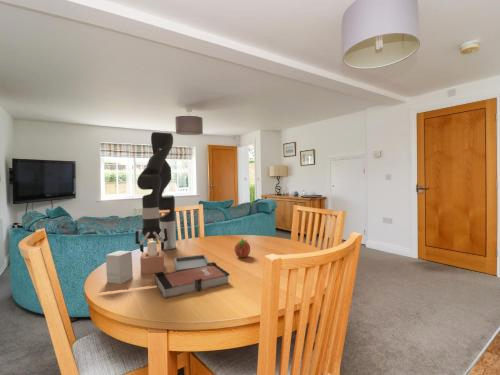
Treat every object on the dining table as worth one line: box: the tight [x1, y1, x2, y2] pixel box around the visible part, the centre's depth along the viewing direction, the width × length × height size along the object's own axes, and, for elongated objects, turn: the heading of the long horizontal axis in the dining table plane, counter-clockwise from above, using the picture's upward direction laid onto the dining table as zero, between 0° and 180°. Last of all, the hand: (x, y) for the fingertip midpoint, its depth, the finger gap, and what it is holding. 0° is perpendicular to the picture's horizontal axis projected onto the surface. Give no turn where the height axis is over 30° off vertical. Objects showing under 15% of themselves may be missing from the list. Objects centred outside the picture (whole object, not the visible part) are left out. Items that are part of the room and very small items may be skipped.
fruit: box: [234, 238, 251, 259], centre depth 149 cm, size 9×10×10 cm
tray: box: [173, 254, 210, 272], centre depth 135 cm, size 20×16×2 cm
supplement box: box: [105, 250, 134, 285], centre depth 116 cm, size 7×7×13 cm
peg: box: [146, 240, 158, 257], centre depth 129 cm, size 4×4×13 cm
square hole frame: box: [139, 250, 165, 275], centre depth 129 cm, size 10×10×8 cm
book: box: [154, 261, 231, 300], centre depth 112 cm, size 26×18×5 cm
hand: (152, 251), depth 129 cm, fingers open, 8 cm apart
